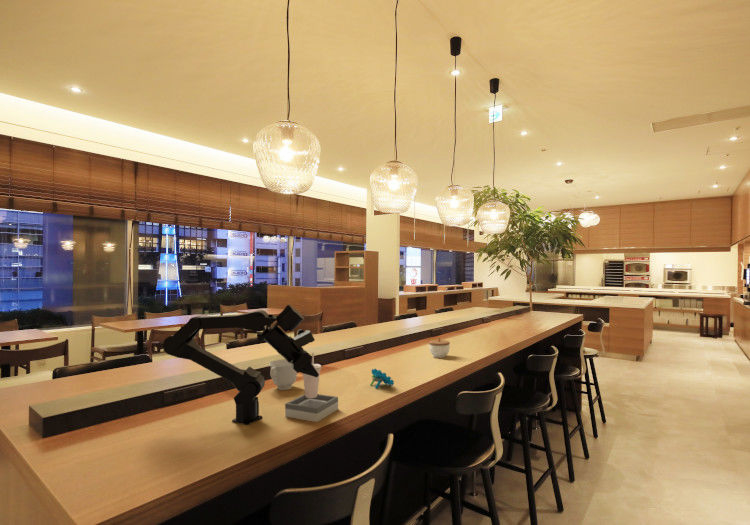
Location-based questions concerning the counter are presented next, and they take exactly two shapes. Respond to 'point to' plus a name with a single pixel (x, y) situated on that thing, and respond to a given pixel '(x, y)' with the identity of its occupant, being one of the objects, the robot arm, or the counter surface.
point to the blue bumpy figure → (380, 378)
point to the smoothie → (312, 381)
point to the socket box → (311, 407)
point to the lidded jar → (439, 348)
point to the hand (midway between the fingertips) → (315, 373)
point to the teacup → (282, 374)
